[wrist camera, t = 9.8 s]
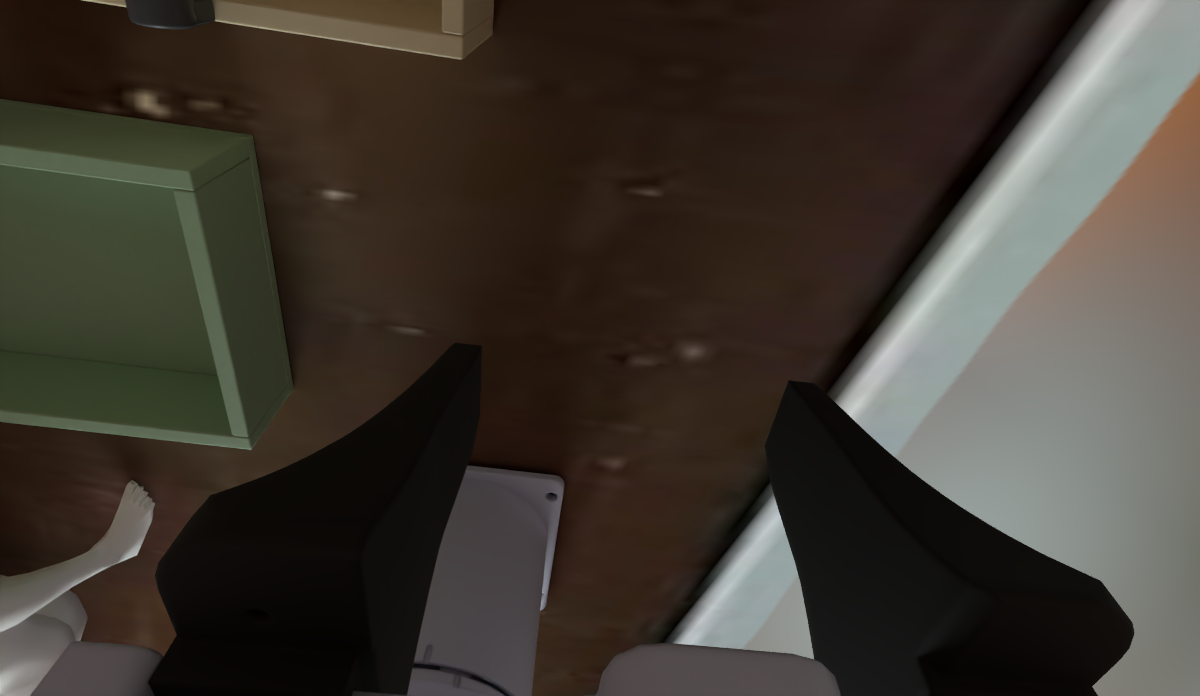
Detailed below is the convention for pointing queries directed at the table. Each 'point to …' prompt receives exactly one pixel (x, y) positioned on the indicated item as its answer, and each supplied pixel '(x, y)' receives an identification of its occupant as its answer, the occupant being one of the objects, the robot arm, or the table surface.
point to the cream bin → (336, 20)
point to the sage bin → (136, 279)
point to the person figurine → (60, 598)
